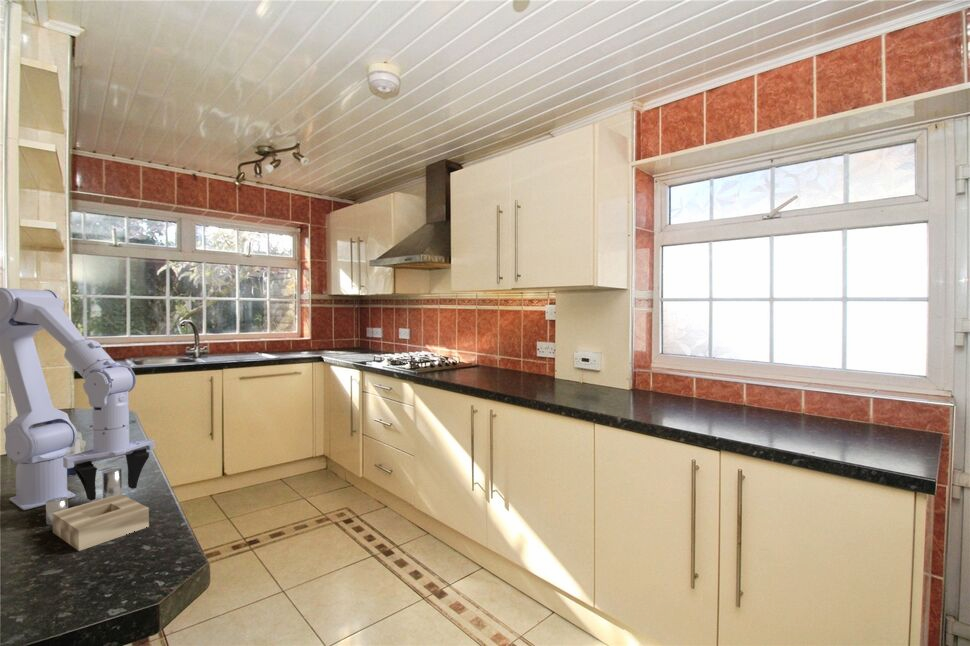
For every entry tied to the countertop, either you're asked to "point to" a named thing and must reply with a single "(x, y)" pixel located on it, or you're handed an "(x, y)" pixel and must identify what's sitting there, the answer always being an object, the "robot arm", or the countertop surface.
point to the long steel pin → (112, 482)
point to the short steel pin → (55, 507)
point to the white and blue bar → (76, 450)
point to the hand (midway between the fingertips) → (112, 493)
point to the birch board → (100, 521)
